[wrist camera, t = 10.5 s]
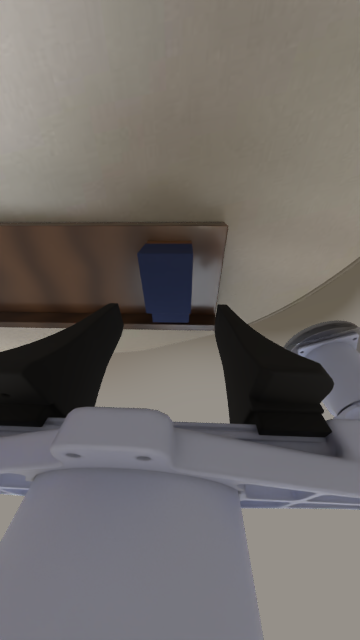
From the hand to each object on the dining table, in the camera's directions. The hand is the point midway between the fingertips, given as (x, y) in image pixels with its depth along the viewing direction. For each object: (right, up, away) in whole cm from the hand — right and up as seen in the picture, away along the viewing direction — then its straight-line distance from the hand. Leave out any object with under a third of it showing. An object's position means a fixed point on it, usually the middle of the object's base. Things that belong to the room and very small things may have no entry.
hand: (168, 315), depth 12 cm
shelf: (-13, +5, +7) cm, 15 cm away
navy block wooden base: (0, +4, +5) cm, 6 cm away
